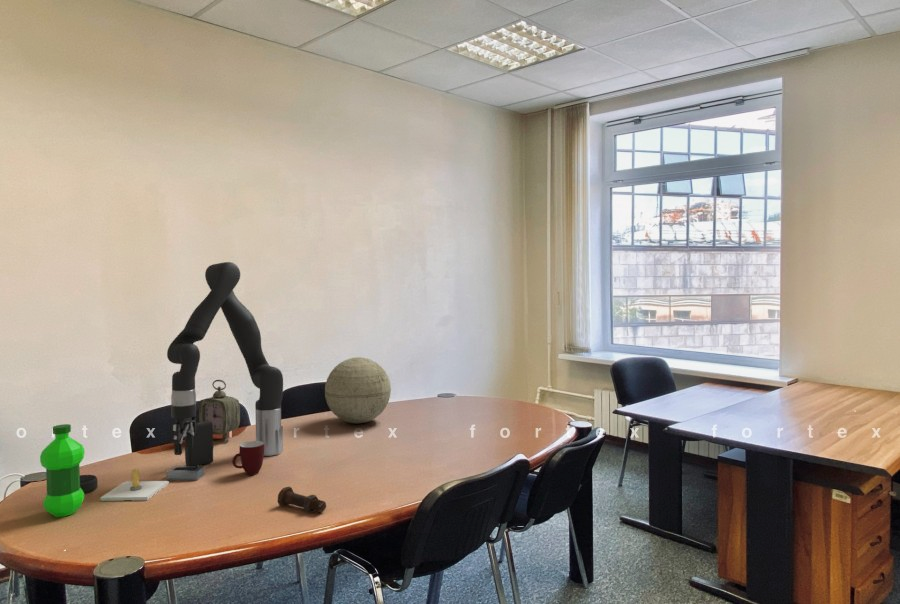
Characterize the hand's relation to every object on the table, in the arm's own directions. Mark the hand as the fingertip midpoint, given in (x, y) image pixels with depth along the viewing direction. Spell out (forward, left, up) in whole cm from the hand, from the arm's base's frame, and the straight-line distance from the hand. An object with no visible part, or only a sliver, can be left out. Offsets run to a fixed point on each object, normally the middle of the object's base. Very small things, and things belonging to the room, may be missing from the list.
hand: (183, 451), depth 196 cm
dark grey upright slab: (+1, -14, -9) cm, 17 cm away
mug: (-20, -3, -9) cm, 23 cm away
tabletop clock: (+5, -46, -9) cm, 47 cm away
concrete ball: (-48, -73, -9) cm, 88 cm away
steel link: (0, 0, -9) cm, 9 cm away
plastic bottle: (+22, +29, -9) cm, 37 cm away
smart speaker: (+28, +11, -9) cm, 31 cm away
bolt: (-46, +28, -9) cm, 54 cm away
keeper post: (+10, +13, -9) cm, 18 cm away
